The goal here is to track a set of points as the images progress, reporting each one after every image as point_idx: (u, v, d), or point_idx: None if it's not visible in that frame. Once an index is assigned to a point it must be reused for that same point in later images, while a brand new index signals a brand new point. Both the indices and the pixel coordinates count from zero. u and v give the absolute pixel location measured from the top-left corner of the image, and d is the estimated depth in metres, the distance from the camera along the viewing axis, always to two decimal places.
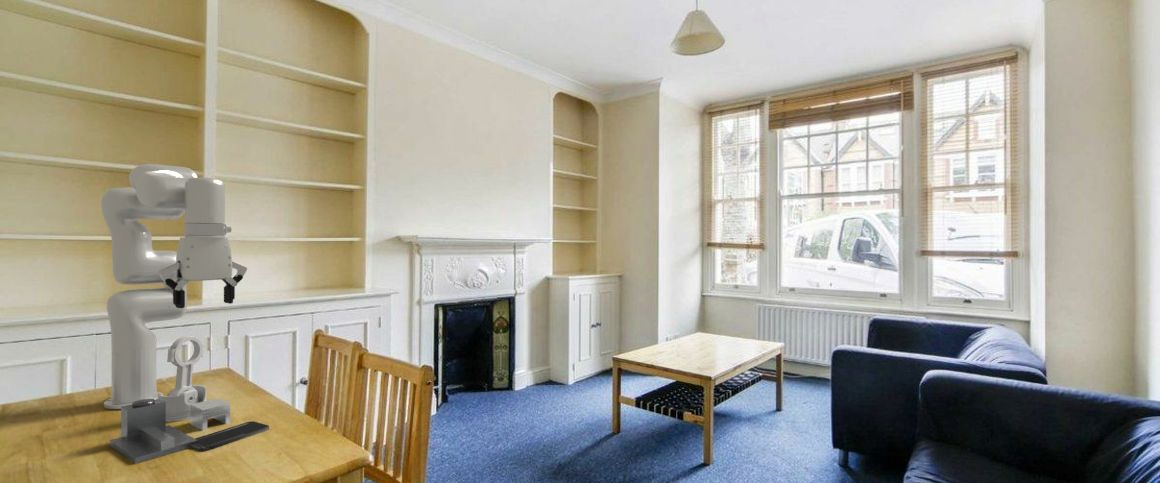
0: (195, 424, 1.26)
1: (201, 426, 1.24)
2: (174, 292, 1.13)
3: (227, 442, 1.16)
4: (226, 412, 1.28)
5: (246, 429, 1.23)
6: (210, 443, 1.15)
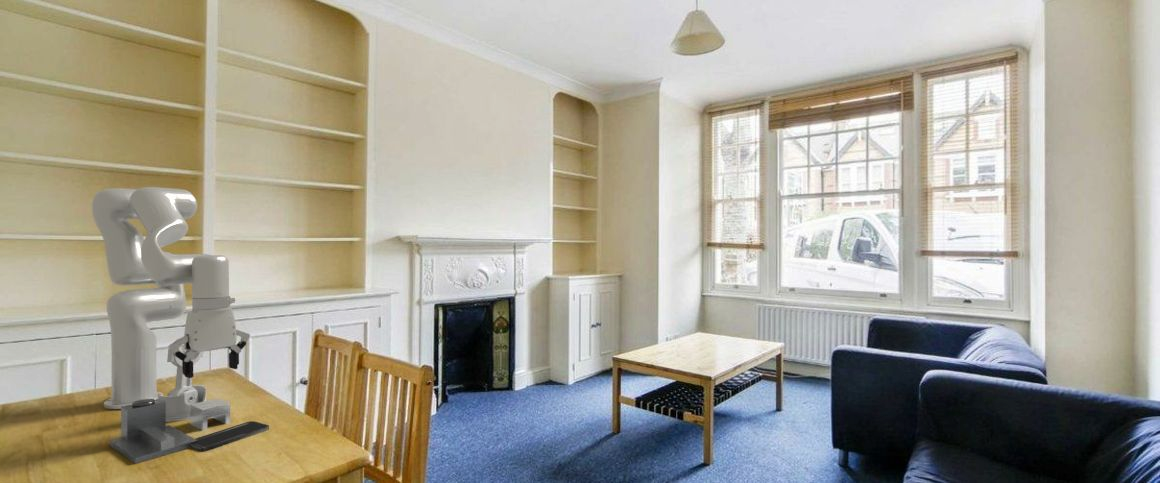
0: (195, 424, 1.26)
1: (201, 426, 1.24)
2: (183, 363, 1.23)
3: (227, 442, 1.16)
4: (226, 412, 1.28)
5: (246, 429, 1.23)
6: (210, 443, 1.15)
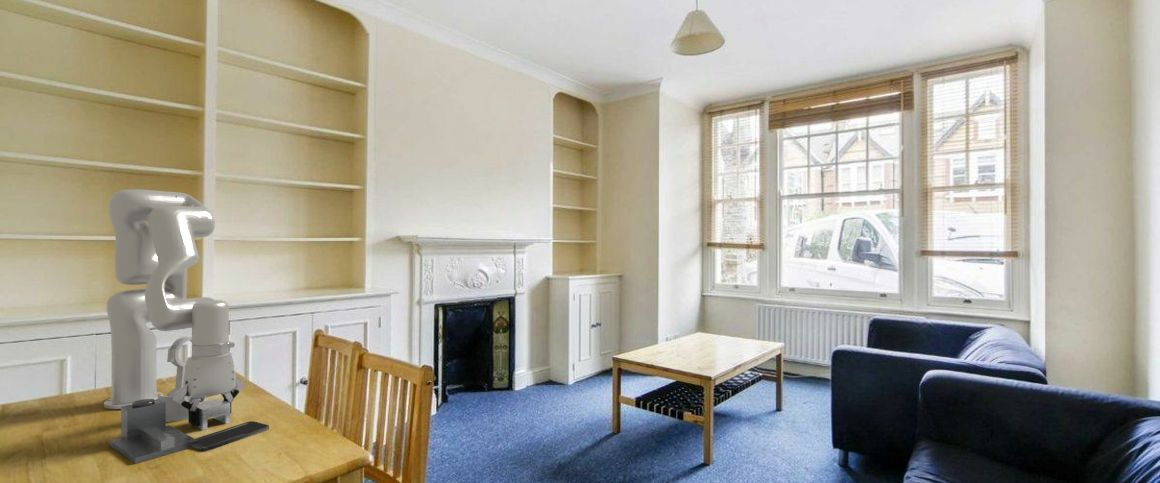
0: None
1: (201, 426, 1.24)
2: (189, 412, 1.25)
3: (227, 442, 1.16)
4: (226, 412, 1.28)
5: (246, 429, 1.23)
6: (210, 443, 1.15)
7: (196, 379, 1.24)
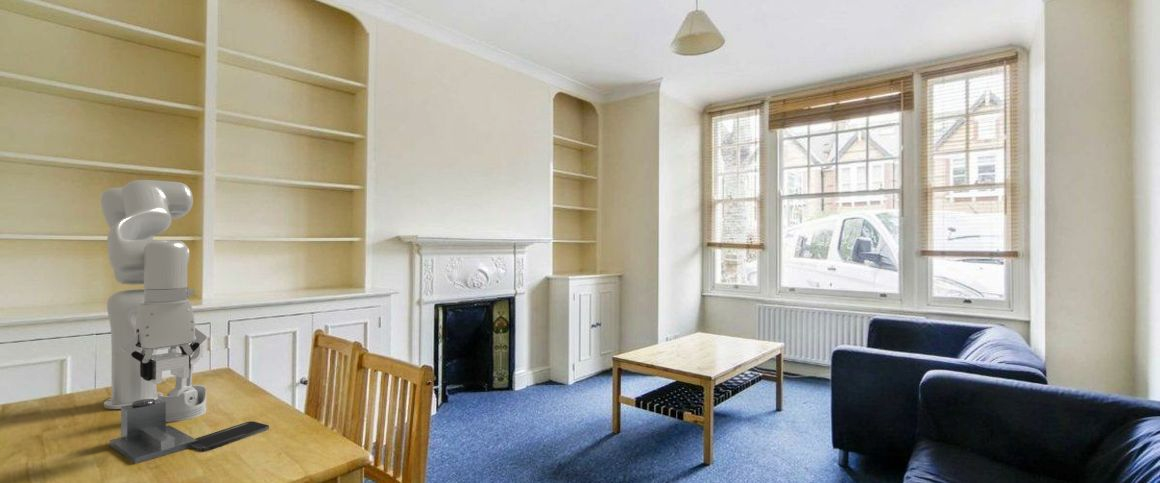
0: None
1: (155, 379, 1.11)
2: (141, 364, 1.11)
3: (227, 442, 1.16)
4: (184, 365, 1.15)
5: (246, 429, 1.23)
6: (210, 443, 1.15)
7: (148, 327, 1.10)
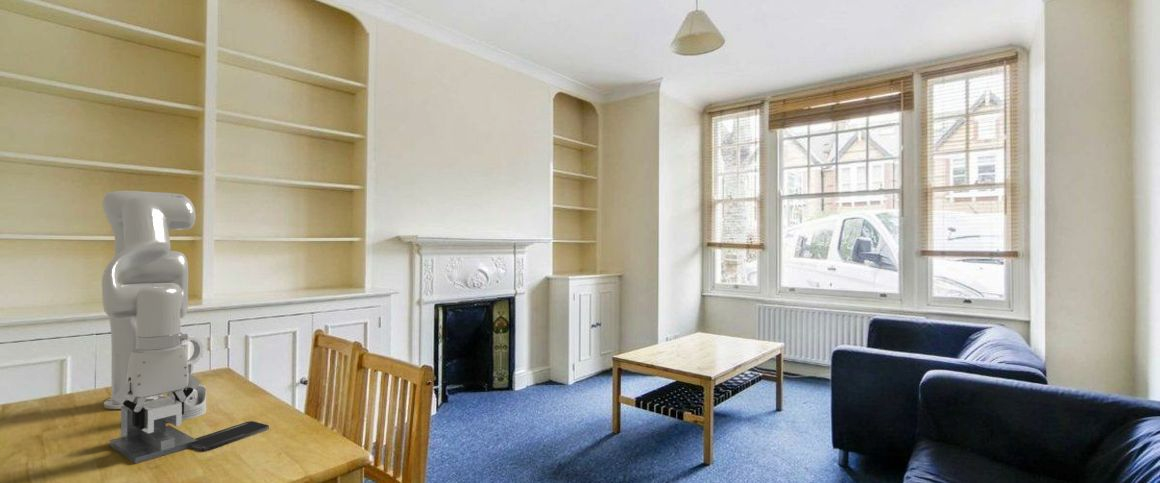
0: None
1: (146, 429, 1.09)
2: (133, 413, 1.09)
3: (227, 442, 1.16)
4: (177, 413, 1.13)
5: (246, 429, 1.23)
6: (211, 443, 1.15)
7: (140, 375, 1.09)
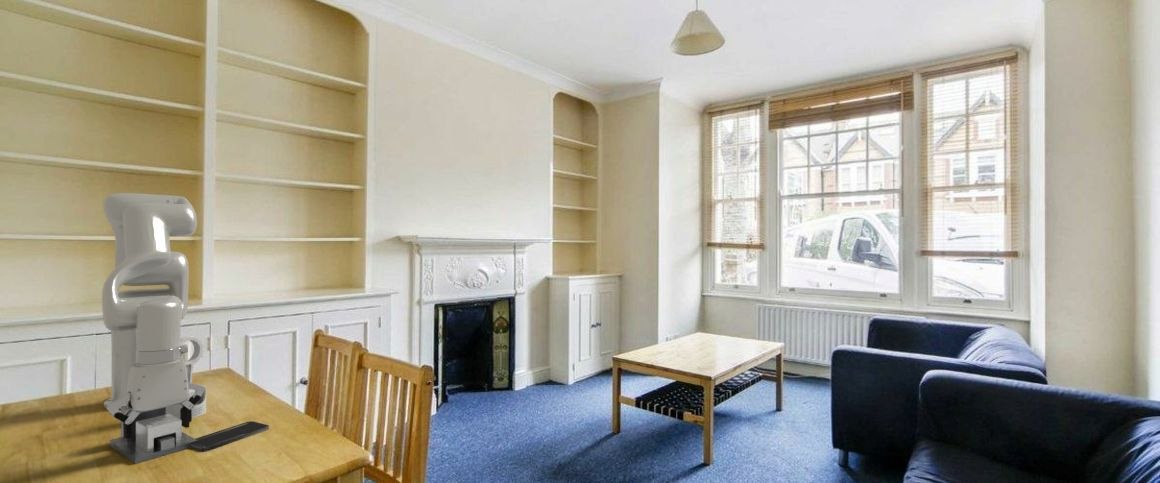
0: (140, 444, 1.11)
1: (146, 447, 1.09)
2: (124, 425, 1.08)
3: (228, 442, 1.16)
4: (177, 430, 1.13)
5: (246, 429, 1.23)
6: (211, 443, 1.15)
7: (140, 389, 1.09)
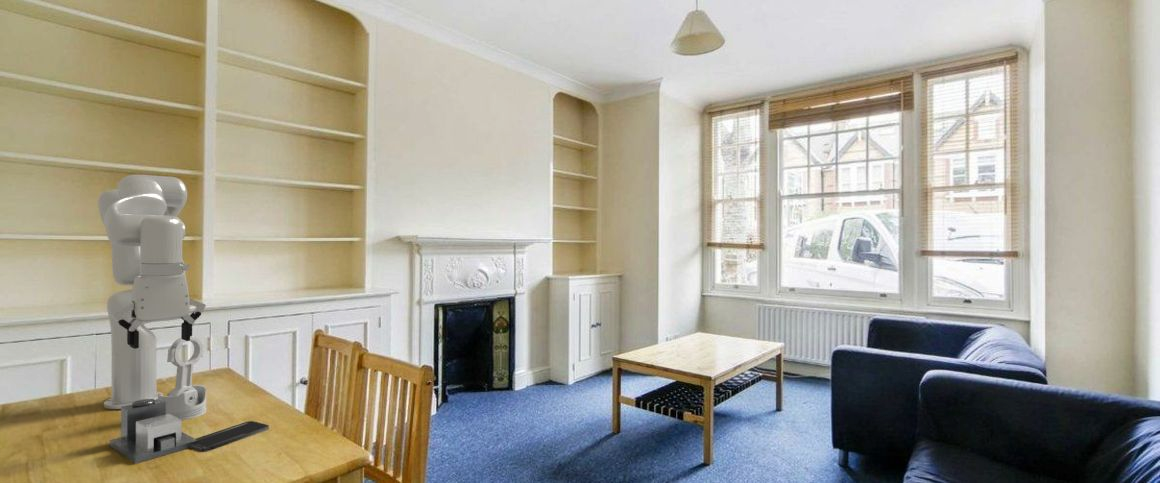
0: (140, 444, 1.11)
1: (146, 447, 1.09)
2: (128, 332, 1.13)
3: (228, 442, 1.16)
4: (177, 430, 1.13)
5: (246, 429, 1.23)
6: (211, 443, 1.15)
7: (144, 299, 1.14)
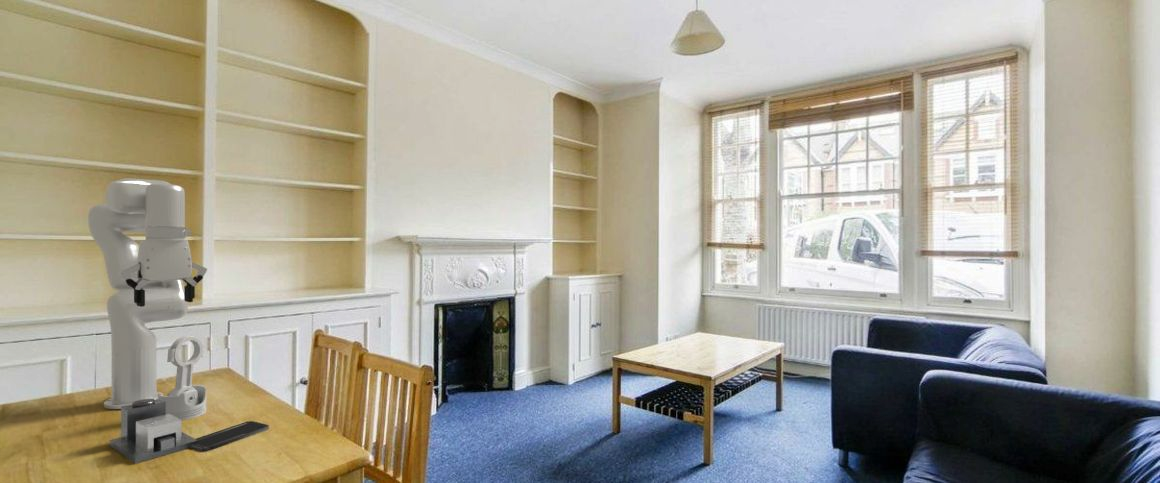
0: (140, 444, 1.11)
1: (146, 447, 1.09)
2: (135, 291, 1.21)
3: (228, 442, 1.16)
4: (177, 430, 1.13)
5: (246, 429, 1.23)
6: (211, 443, 1.15)
7: (149, 260, 1.21)
